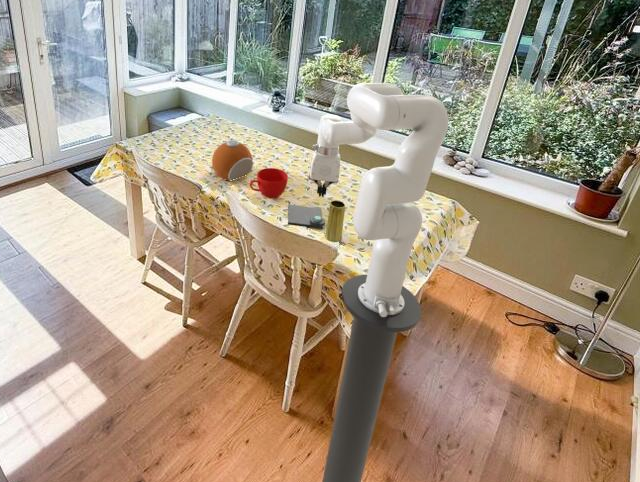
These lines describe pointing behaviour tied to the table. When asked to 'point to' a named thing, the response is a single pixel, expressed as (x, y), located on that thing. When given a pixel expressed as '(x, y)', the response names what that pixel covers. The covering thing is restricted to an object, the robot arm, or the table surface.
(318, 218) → the button
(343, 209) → the vase
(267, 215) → the table surface
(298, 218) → the scale
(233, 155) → the alarm clock
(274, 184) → the ceramic cup
